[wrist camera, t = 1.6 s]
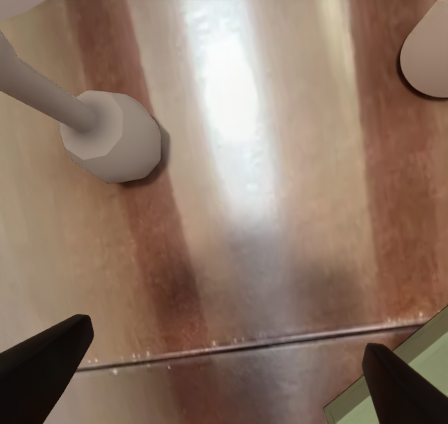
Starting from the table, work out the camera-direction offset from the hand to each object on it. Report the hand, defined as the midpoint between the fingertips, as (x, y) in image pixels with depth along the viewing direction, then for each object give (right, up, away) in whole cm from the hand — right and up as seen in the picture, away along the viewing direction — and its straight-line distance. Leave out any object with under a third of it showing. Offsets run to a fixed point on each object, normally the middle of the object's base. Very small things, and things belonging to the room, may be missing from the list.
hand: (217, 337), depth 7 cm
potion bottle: (-10, +11, +19) cm, 24 cm away
